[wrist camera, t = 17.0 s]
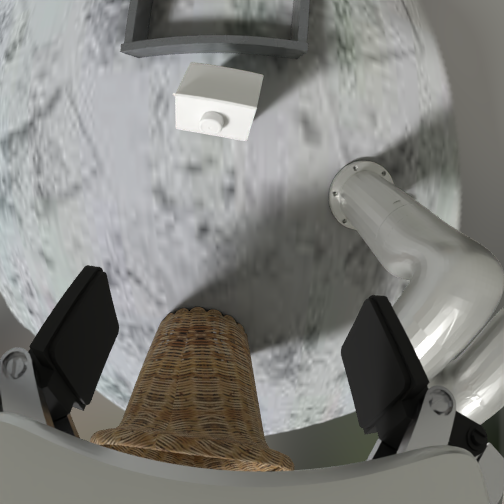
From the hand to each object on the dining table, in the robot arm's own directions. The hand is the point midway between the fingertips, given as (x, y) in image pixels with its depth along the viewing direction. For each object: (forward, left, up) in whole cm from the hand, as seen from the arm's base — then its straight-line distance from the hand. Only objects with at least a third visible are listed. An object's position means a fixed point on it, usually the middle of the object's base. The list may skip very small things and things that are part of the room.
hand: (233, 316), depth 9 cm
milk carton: (+2, -7, -35) cm, 36 cm away
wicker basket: (+7, +43, -35) cm, 56 cm away
